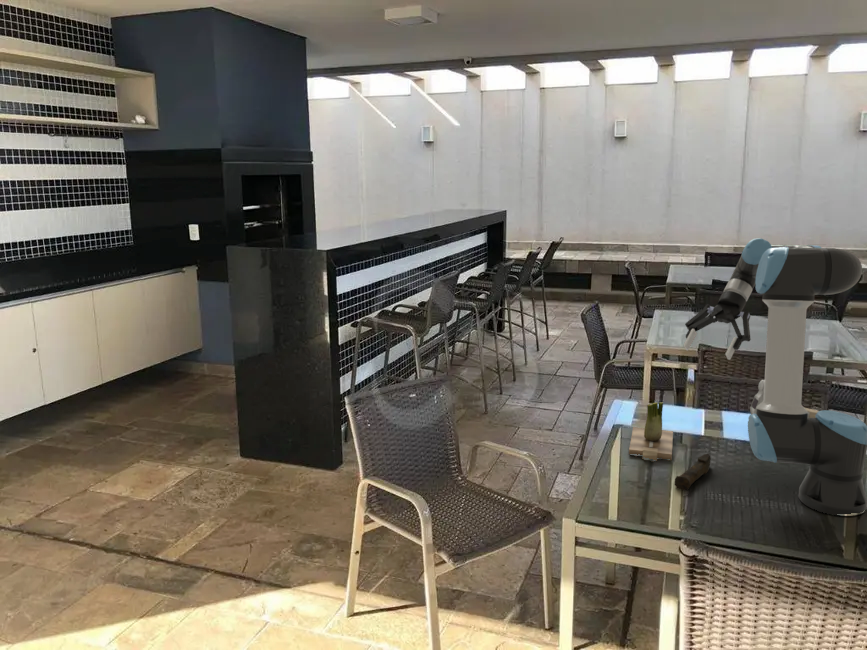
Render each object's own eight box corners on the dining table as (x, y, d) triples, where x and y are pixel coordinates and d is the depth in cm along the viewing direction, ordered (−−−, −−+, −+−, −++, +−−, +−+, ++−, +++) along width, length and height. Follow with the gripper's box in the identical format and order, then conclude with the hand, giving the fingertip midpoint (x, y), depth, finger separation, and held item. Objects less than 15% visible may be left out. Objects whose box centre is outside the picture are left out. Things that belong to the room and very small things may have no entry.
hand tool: (687, 493, 185) (689, 477, 184) (673, 488, 188) (675, 472, 187) (718, 470, 198) (720, 455, 197) (704, 465, 201) (706, 450, 200)
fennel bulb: (660, 436, 215) (662, 400, 212) (664, 443, 211) (667, 405, 208) (641, 436, 216) (643, 400, 213) (645, 443, 211) (647, 405, 208)
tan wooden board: (671, 463, 202) (672, 453, 201) (628, 458, 206) (628, 448, 205) (672, 434, 222) (673, 425, 221) (633, 430, 226) (633, 421, 225)
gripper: (778, 310, 212) (749, 368, 206) (701, 298, 230) (673, 350, 225) (771, 295, 207) (742, 354, 202) (693, 284, 226) (665, 337, 220)
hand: (706, 352), depth 213 cm, fingers open, 13 cm apart
